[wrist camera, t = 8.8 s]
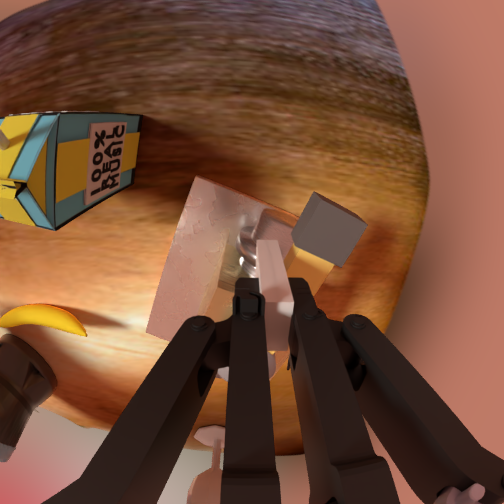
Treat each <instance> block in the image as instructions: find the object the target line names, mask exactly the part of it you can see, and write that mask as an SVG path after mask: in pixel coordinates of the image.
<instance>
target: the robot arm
mask: <svg viewBox="0 0 504 504" xmlns="http://www.w3.org/2000/svg"><path fill="white" fill-rule="evenodd" d="M232 313H233V314H232V315H231V316H230V317H229V318H228V319H226V320H224V321H220V322H214V320H213V319H211V318H210V317H207V316H201V315H197V316H192V317H190V318H188V319H187V320H185V321H184V323H183V324H182V325H181V327H180V328H179V330H178V331H177V333H176V334H175V336H174V337H173V339H172V340H171V341H170V343H169V344H168V346H167V347H166V349H165V350H164V352H163V353H162V355H161V356H160V358H159V359H158V360H157V362H156V363H155V365H154V366H153V368H152V369H151V371H150V372H149V374H148V375H147V377H146V378H145V380H144V381H143V383H142V384H141V386H140V387H139V389H138V390H137V391H136V393H135V394H134V396H133V397H132V399H131V400H130V402H129V403H128V405H127V406H126V408H125V409H124V411H123V412H122V414H121V415H120V417H119V418H118V420H117V422H116V423H115V425H114V426H113V428H112V429H111V431H110V432H109V434H108V435H107V437H106V438H105V440H104V441H103V443H102V445H101V446H100V447H99V449H98V451H97V452H96V454H95V455H94V457H93V458H92V460H91V461H90V463H89V464H88V466H87V467H86V469H85V471H84V472H83V474H82V475H81V477H80V478H79V479H77V480H76V481H74V482H73V483H72V484H70V485H69V486H67V487H66V488H65V489H63V490H61V491H60V492H58V493H57V494H55V495H54V496H52V497H51V498H49V499H48V500H46V501H44V502H43V503H41V504H157V501H158V500H159V497H160V495H161V493H162V491H163V489H164V487H165V485H166V483H167V481H168V479H169V477H170V474H171V472H172V470H173V468H174V466H175V464H176V462H177V460H178V458H179V455H180V453H181V451H182V449H183V447H184V445H185V443H186V440H187V438H188V436H189V434H190V432H191V430H192V427H193V425H194V423H195V421H196V419H197V417H198V414H199V412H200V410H201V408H202V406H203V404H204V401H205V399H206V397H207V395H208V392H209V390H210V388H211V386H212V384H213V381H214V379H215V377H216V375H217V373H218V369H220V368H225V367H229V374H228V390H227V407H226V424H225V442H224V462H223V471H222V476H221V492H220V504H281V494H280V482H279V475H278V472H277V471H276V463H275V449H274V435H273V421H272V407H271V394H270V381H269V367H268V354H267V351H287V349H288V344H289V349H290V354H289V360H288V366H287V370H289V369H290V368H291V374H292V380H293V385H294V391H295V397H296V403H297V409H298V415H299V421H300V427H301V433H302V439H303V446H304V452H305V458H306V464H307V471H308V477H309V484H310V497H309V504H400V502H399V498H398V494H397V491H396V487H395V484H394V481H393V478H392V474H391V471H390V468H389V465H388V463H387V461H386V460H385V459H384V458H383V457H381V456H377V455H376V454H375V452H374V450H373V447H372V443H371V440H370V437H369V434H368V431H367V428H366V426H365V422H364V419H363V416H364V418H365V419H366V421H367V422H368V424H369V425H370V427H371V428H372V430H373V431H374V433H375V434H376V436H377V437H378V439H379V440H380V442H381V443H382V445H383V446H384V448H385V449H386V451H387V452H388V454H389V455H390V457H391V458H392V460H393V462H394V463H395V465H396V466H397V468H398V469H399V471H400V472H401V474H402V475H403V477H404V478H405V480H406V481H407V483H408V484H409V486H410V487H411V489H412V490H413V491H414V493H415V494H416V495H417V496H418V497H419V499H420V500H422V502H423V503H424V504H502V503H503V502H504V460H503V459H501V458H499V457H497V456H496V455H494V454H493V453H491V452H489V451H488V450H486V449H485V448H483V447H481V445H480V444H479V443H478V442H477V440H476V439H475V438H474V437H473V436H472V434H471V433H470V432H469V431H468V429H467V428H466V427H465V426H464V425H463V423H462V422H461V421H460V420H459V419H458V417H457V416H456V415H455V414H454V413H453V412H452V411H451V409H450V408H449V407H448V406H447V405H446V403H445V402H444V401H443V400H442V399H441V398H440V397H439V395H438V394H437V393H436V392H435V391H434V390H433V388H432V387H431V386H430V385H429V384H428V383H427V382H426V380H425V379H424V378H423V377H422V376H421V375H420V374H419V373H418V371H417V370H416V369H415V368H414V367H413V366H412V365H411V364H410V363H409V361H408V360H407V359H406V358H405V357H404V356H403V355H402V354H401V353H400V352H399V351H398V349H397V348H396V347H395V346H394V345H393V344H392V343H391V342H390V341H389V340H388V339H387V338H386V336H384V334H383V333H382V332H381V331H380V330H379V329H378V328H377V327H376V326H375V325H374V324H373V323H372V322H371V320H369V319H368V318H367V317H365V316H362V315H358V314H350V315H348V316H346V317H345V318H344V320H343V322H340V321H334V320H330V319H328V318H327V317H326V314H325V313H324V312H323V311H322V310H321V309H319V308H317V306H316V303H315V300H314V298H313V295H312V292H311V290H310V287H309V284H308V282H307V281H306V280H304V279H303V278H302V277H287V273H286V270H285V266H284V262H283V258H282V255H281V251H280V247H279V244H278V240H257V248H256V272H255V278H247V277H239V278H238V280H237V281H236V282H235V293H234V296H233V298H232ZM361 359H362V360H361ZM56 387H57V381H56V378H55V375H54V373H53V372H52V370H51V369H50V367H49V366H48V364H47V363H46V362H45V361H44V360H43V358H42V357H41V356H40V355H39V354H38V353H37V352H36V351H35V350H34V349H33V348H31V347H30V346H29V345H28V344H27V343H25V342H24V341H22V340H21V339H19V338H17V337H15V336H13V335H10V334H5V335H3V336H2V337H1V338H0V462H7V461H8V460H9V458H10V456H11V455H12V453H13V451H14V450H15V449H16V448H15V447H16V444H17V443H18V440H19V438H20V436H21V434H22V432H23V430H24V428H25V426H26V424H27V422H28V420H29V418H30V416H31V414H32V412H33V410H34V409H35V408H36V407H38V406H39V405H40V404H41V403H43V402H44V401H45V400H46V399H48V398H49V397H50V396H51V395H52V394H53V392H54V390H55V389H56ZM362 415H363V416H362Z"/></svg>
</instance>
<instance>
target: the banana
mask: <svg viewBox="0 0 504 504" xmlns="http://www.w3.org/2000/svg"><path fill="white" fill-rule="evenodd" d="M23 324H36V325H42V326H47V327H51V328H55V329H58V330H62V331H65V332H69V333H73V334H77V335H80V336H85V337H87V333H86V330H85V328H84V327H83V325H82V324H81V323H80V322H79V321H78V320H77V318H76V317H75V316H74V315H72V314H71V313H70V312H68V311H66V310H63V309H61V308H58V307H55V306H51V305H45V304H29V305H24V306H20V307H17V308H14V309H12V310H10V311H9V312H7V313H6V314H4V315H3V316H2V317H1V318H0V327H3V328H8V327H14V326H18V325H23Z"/></svg>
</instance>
